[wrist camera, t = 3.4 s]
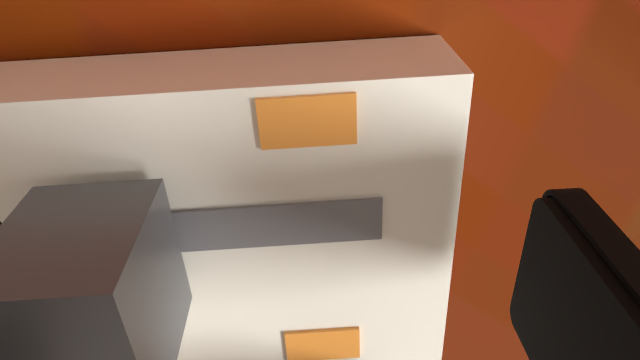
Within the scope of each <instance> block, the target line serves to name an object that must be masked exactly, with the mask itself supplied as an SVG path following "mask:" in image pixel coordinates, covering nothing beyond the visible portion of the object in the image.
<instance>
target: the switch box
mask: <svg viewBox="0 0 640 360" xmlns="http://www.w3.org/2000/svg"><path fill="white" fill-rule="evenodd" d="M473 78H474V73H473V72H472V71H471V70H470V69H469V67H468V66H467V65H466V64H465V63H464V62H463V61H462V60H461V58H460V57H459V56H458V55H457V54H456V53H455V52H454V50H453V49H452V48H451V47H450V46H449V45H448V44H447V43H446V41H445V40H444V39H443V38H442V37H441V36H440V35H428V36H412V37H396V38H379V39H363V40H347V41H331V42H314V43H298V44H282V45H266V46H250V47H233V48H217V49H201V50H185V51H168V52H152V53H136V54H120V55H104V56H87V57H71V58H55V59H39V60H23V61H6V62H0V222H2V223H3V221H4V220H5V219H6V218H7V217H8V215H9V214H10V213H11V212H12V211H13V209H14V208H15V207H16V206H17V205H18V203H19V202H20V201H21V200H22V199H23V198H24V196H25V195H26V194H27V193H28V192H29V190H30V189H31V188H32V187H35V186H51V185H66V184H82V183H97V182H113V181H129V180H144V179H160V178H163V181H164V185H165V189H166V193H167V197H168V201H169V205H170V209H171V213H172V217H173V221H174V225H175V229H176V233H177V237H178V241H179V245H180V249H181V253H182V257H183V261H184V265H185V269H186V273H187V277H188V281H189V285H190V289H191V293H192V300H191V304H190V308H189V313H188V317H187V321H186V325H185V329H184V333H183V337H182V341H181V346H180V350H179V354H178V358H177V360H441V358H442V350H443V341H444V332H445V323H446V315H447V306H448V297H449V288H450V279H451V271H452V262H453V253H454V244H455V236H456V227H457V218H458V209H459V201H460V192H461V183H462V174H463V166H464V157H465V148H466V139H467V131H468V122H469V113H470V104H471V95H472V87H473Z"/></svg>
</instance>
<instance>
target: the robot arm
mask: <svg viewBox="0 0 640 360" xmlns="http://www.w3.org/2000/svg"><path fill="white" fill-rule="evenodd" d="M1 224H2V222H0V225H1ZM510 315H511V320H512V324H513V326H514V328H515V330H516V332H517V335H518V337H519V339H520V341H521V343H522V345H523V347H524V349H525V351H526V353H527V355H528V357H529V360H640V250H639V249H638V248H637V247H636V246H635V245H634V244H633V243H632V241H631V240H630V239H629V238H628V237H627V236H626V235H625V234H624V233H623V232H622V230H621V229H620V228H619V227H618V226H617V225H616V224H615V223H614V222H613V221H612V219H611V218H610V217H609V216H608V215H607V214H606V213H605V212H604V211H603V210H602V208H601V207H600V206H599V205H598V204H597V203H596V202H595V201H594V200H593V199H592V197H591V196H590V195H589V194H588V193H587V192H586V191H585V190H583V189H581V188H570V189H551V190H547V191H546V192H545V193H544V194H543V197H542V198H537V199H536V200H535V201H534V203H533V206H532V211H531V215H530V220H529V224H528V229H527V233H526V238H525V242H524V247H523V251H522V255H521V260H520V264H519V269H518V273H517V278H516V282H515V287H514V291H513V296H512V300H511V305H510Z"/></svg>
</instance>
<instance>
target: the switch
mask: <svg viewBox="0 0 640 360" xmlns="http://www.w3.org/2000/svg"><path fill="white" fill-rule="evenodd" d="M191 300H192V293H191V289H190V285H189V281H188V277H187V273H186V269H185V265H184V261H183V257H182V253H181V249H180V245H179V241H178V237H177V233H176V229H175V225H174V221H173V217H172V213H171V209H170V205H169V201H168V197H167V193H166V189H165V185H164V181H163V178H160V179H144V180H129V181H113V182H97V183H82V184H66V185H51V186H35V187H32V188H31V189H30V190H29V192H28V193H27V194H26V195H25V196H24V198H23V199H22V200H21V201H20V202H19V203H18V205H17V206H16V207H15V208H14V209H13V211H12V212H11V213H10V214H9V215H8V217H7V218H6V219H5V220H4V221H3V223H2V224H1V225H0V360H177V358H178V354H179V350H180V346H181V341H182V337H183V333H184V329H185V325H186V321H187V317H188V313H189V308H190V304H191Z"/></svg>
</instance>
